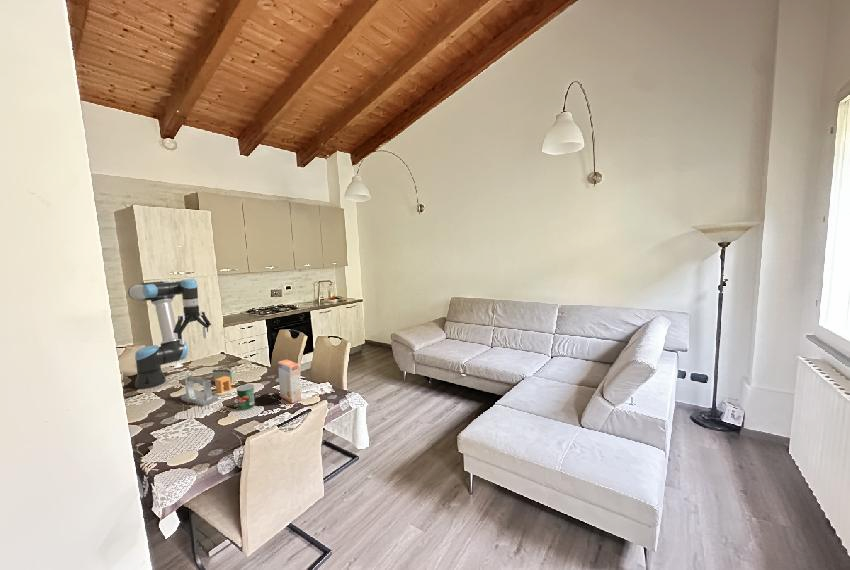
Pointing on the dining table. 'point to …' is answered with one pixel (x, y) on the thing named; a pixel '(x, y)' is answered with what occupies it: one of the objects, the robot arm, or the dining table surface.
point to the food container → (222, 372)
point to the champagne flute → (177, 365)
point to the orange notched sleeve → (220, 382)
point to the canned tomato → (245, 397)
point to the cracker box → (289, 381)
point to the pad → (224, 392)
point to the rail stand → (198, 392)
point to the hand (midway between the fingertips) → (194, 341)
